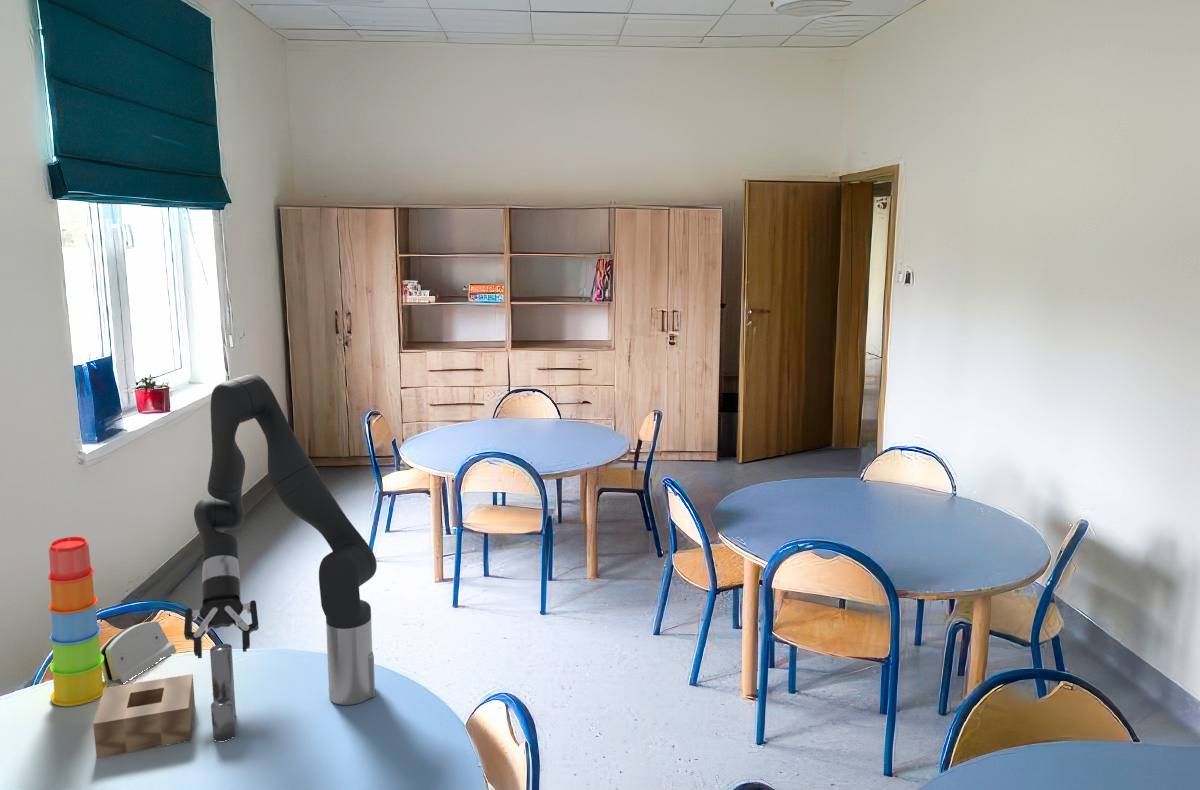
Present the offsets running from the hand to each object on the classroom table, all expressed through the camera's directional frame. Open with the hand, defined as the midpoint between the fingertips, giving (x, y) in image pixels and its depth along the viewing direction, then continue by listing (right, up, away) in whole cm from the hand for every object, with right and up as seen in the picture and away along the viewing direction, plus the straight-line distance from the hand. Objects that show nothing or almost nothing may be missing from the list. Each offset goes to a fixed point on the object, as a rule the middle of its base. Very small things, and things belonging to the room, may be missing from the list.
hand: (222, 653), depth 176 cm
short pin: (+4, -14, -9) cm, 17 cm away
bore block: (-11, -13, -7) cm, 19 cm away
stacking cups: (-33, -11, +5) cm, 35 cm away
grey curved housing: (-28, -8, +18) cm, 34 cm away
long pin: (+2, -12, -2) cm, 12 cm away
